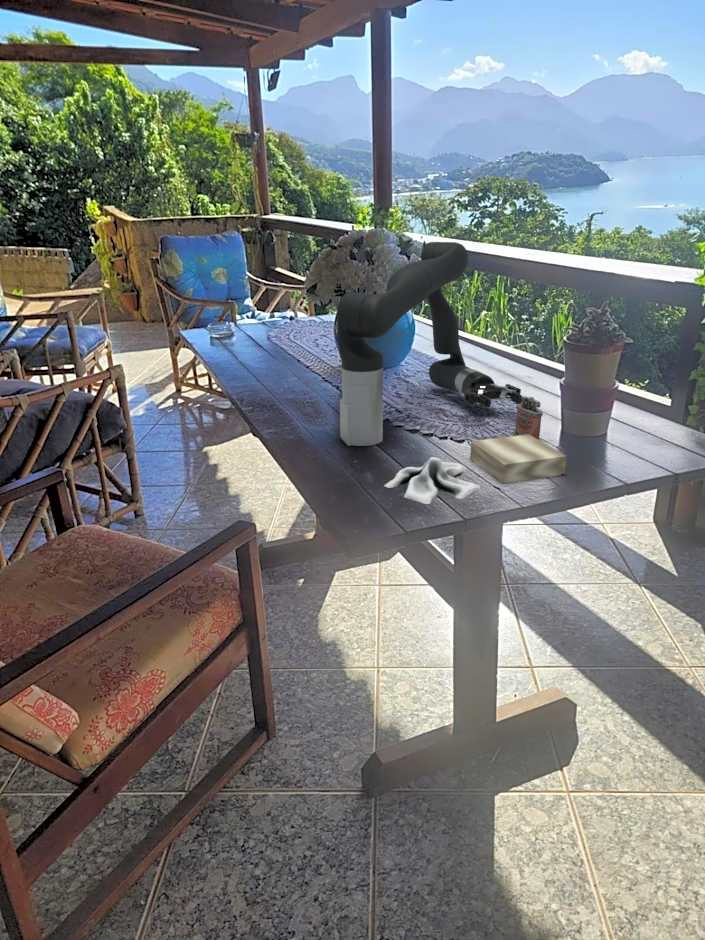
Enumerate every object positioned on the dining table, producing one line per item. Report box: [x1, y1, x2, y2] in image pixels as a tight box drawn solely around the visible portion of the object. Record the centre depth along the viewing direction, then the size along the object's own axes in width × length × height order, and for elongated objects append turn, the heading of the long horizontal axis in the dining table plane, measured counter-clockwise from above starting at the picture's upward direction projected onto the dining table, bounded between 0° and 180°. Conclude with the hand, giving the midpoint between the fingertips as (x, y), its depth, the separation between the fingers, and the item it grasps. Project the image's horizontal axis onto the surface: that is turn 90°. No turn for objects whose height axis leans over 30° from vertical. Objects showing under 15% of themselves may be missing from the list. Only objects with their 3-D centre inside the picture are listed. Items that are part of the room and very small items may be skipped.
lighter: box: [513, 395, 544, 441], centre depth 152 cm, size 8×3×10 cm, turn 21°
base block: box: [469, 434, 567, 484], centre depth 138 cm, size 14×14×4 cm
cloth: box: [383, 456, 481, 505], centre depth 130 cm, size 22×19×6 cm
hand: (505, 401), depth 161 cm, fingers open, 8 cm apart
